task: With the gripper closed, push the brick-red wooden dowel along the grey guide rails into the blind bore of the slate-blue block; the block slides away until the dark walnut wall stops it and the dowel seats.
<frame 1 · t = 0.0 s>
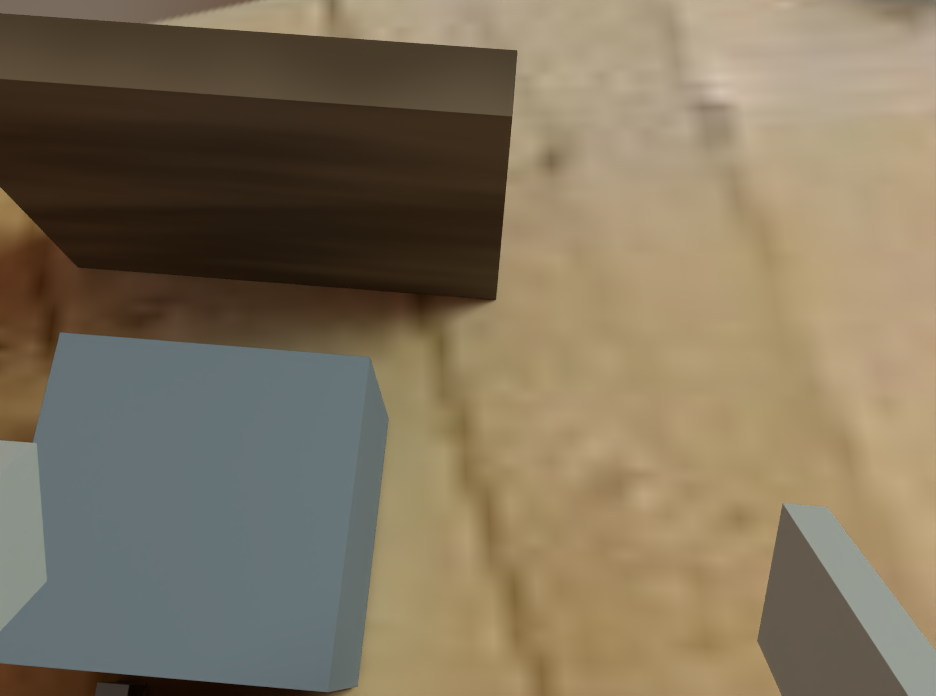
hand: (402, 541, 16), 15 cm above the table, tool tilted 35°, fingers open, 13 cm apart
block: (217, 519, 28), point 4 cm above the table, slide at 0.0 cm
wall: (289, 259, 34), on the table
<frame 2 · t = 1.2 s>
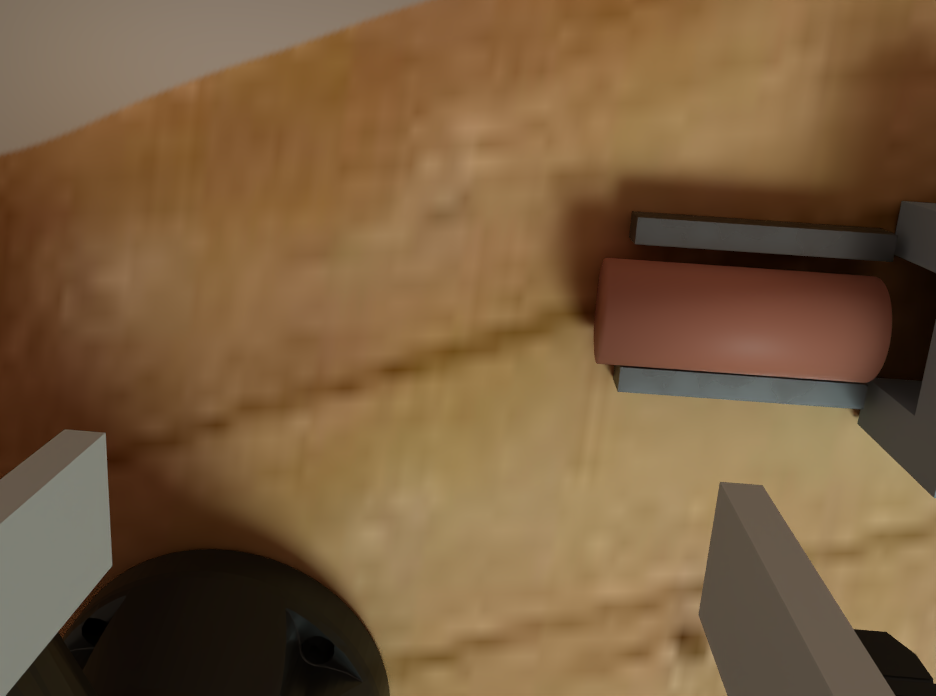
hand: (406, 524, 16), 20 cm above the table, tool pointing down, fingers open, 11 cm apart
rails: (742, 305, 35), on the table
dowel: (722, 303, 36), on the table, tilted 5°
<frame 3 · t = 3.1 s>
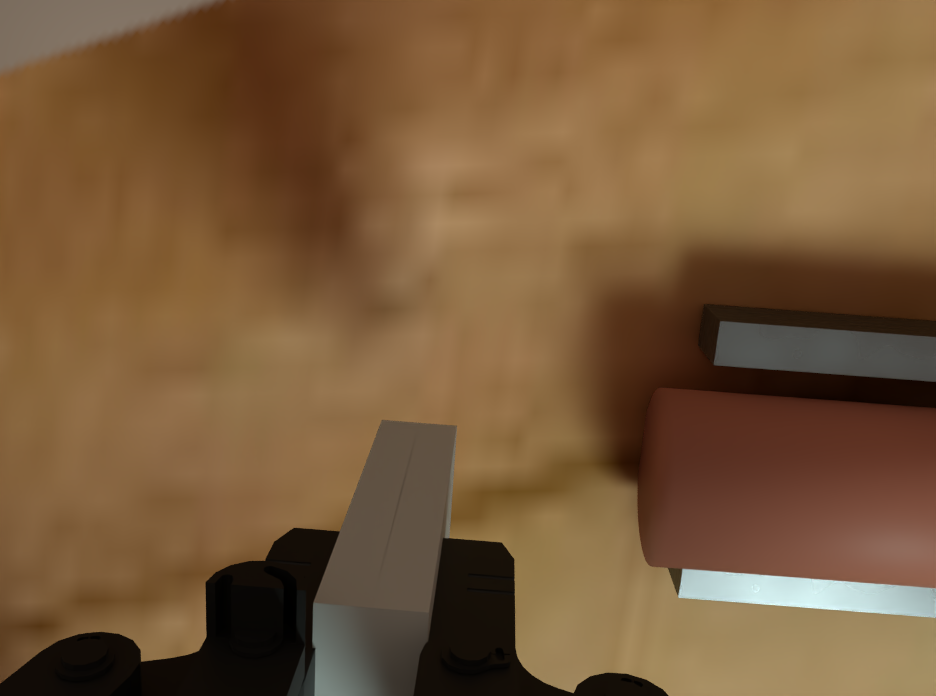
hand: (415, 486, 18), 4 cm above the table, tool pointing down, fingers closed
rails: (879, 454, 22), on the table
dowel: (845, 448, 22), on the table, tilted 7°
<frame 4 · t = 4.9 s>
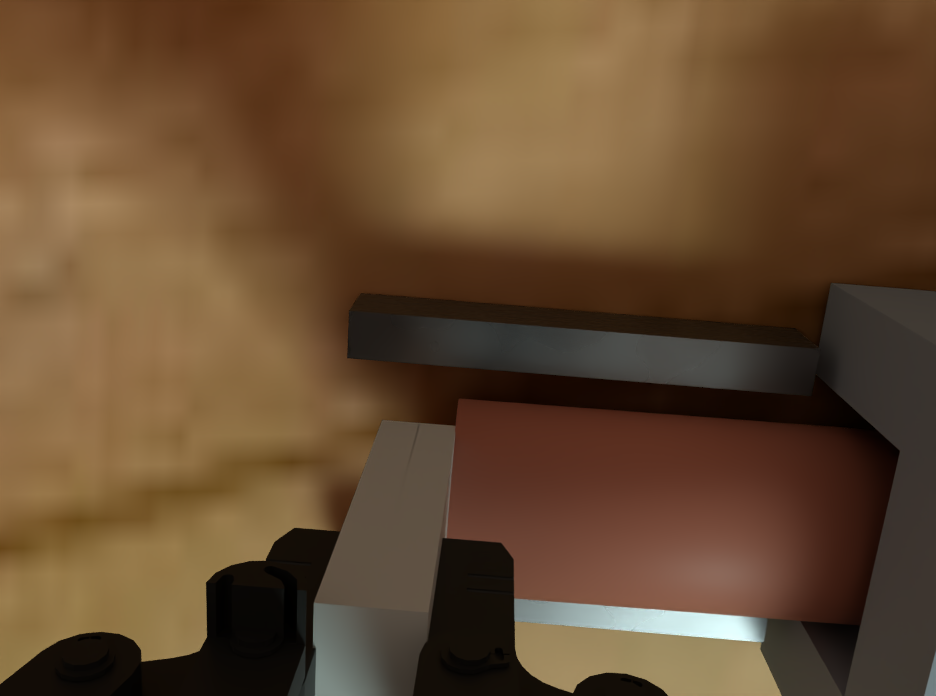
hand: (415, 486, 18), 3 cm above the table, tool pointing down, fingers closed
rails: (561, 454, 21), on the table
dowel: (674, 462, 21), on the table, tilted 7°, touching gripper
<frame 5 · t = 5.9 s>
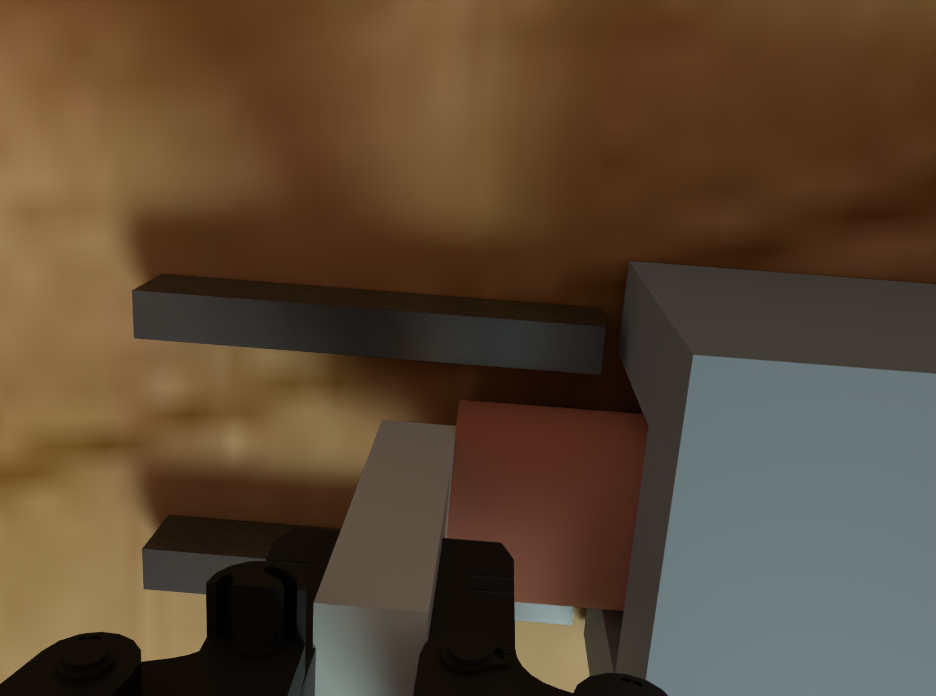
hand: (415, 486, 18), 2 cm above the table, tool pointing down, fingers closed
rails: (372, 436, 20), on the table
block: (865, 551, 17), point 4 cm above the table, slide at 0.0 cm
dowel: (678, 466, 20), on the table, tilted 6°, touching gripper
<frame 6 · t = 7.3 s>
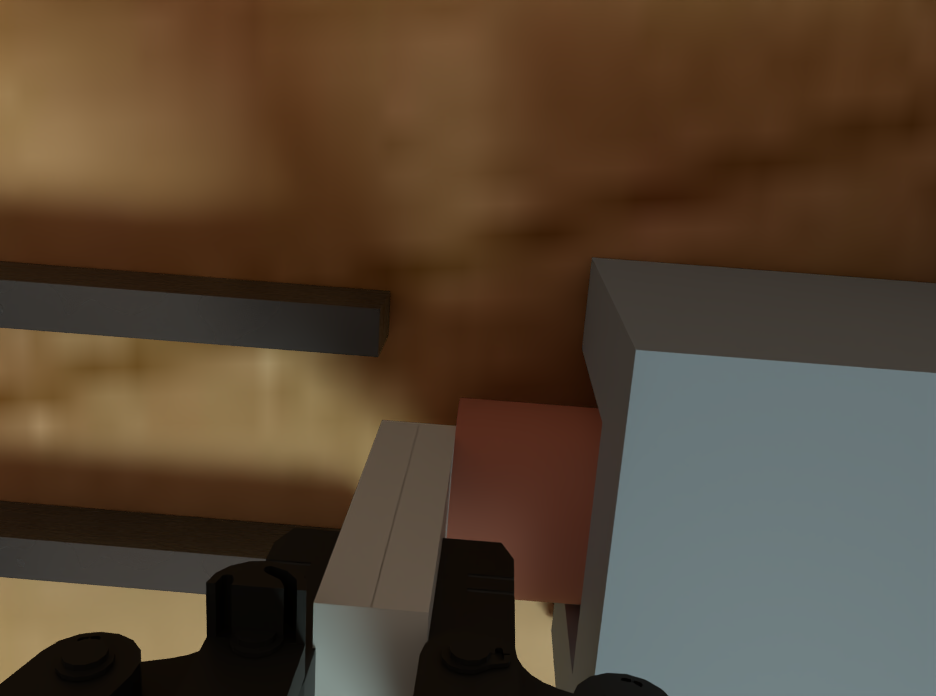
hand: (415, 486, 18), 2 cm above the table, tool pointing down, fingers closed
rails: (176, 420, 20), on the table
block: (824, 547, 17), point 4 cm above the table, slide at 3.7 cm
dowel: (678, 465, 20), on the table, tilted 6°, touching gripper
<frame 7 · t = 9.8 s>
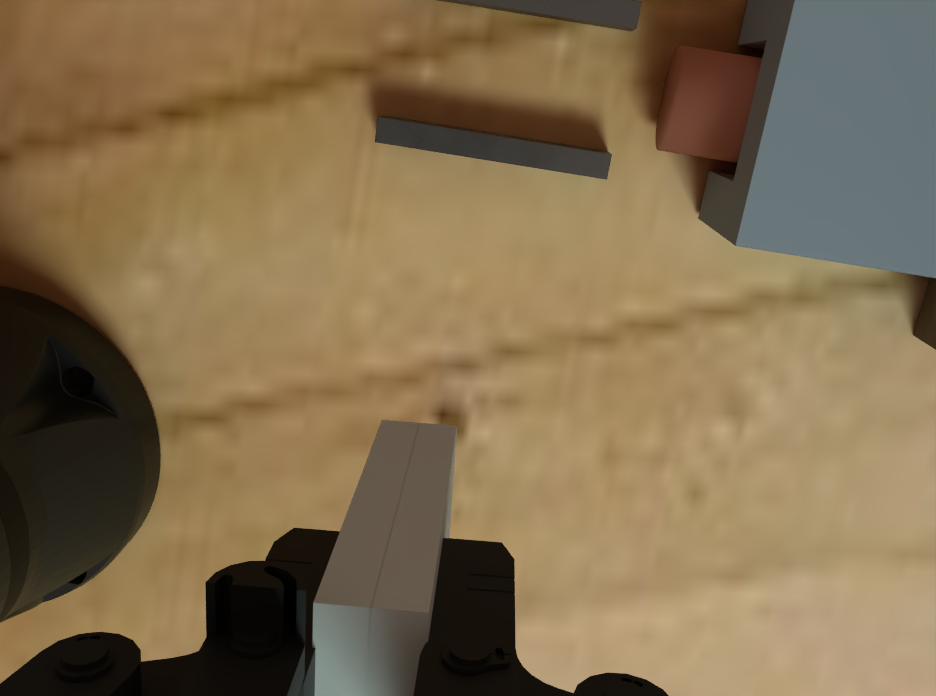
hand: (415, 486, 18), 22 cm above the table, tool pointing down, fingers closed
rails: (505, 74, 37), on the table
block: (863, 130, 33), point 4 cm above the table, slide at 3.7 cm
dowel: (780, 122, 37), on the table, tilted 6°
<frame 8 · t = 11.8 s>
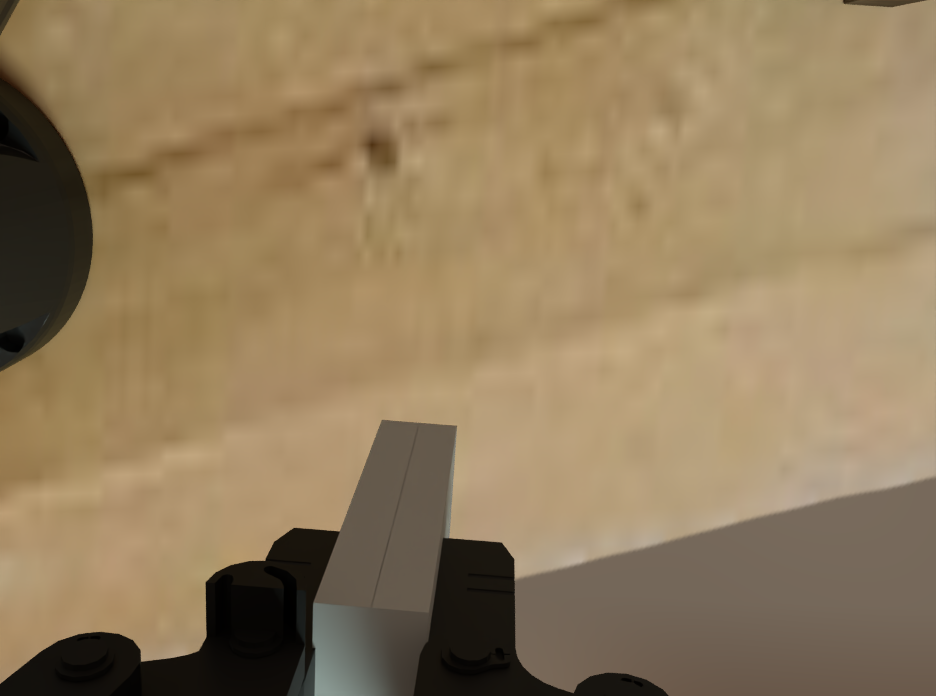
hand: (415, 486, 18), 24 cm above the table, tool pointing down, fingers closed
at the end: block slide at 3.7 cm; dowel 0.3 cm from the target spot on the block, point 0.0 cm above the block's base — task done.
